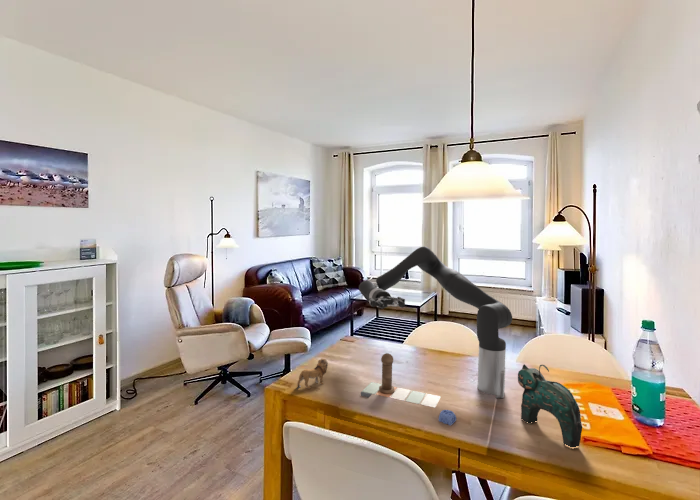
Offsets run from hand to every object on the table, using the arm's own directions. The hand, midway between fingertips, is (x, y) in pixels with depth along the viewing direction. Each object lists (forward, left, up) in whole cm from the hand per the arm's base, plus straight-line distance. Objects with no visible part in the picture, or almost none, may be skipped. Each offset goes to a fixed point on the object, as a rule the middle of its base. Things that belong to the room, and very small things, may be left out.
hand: (393, 305), depth 146 cm
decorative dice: (-27, +25, -30) cm, 47 cm away
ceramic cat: (-55, +15, -30) cm, 64 cm away
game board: (-8, +14, -30) cm, 34 cm away
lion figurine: (+26, +18, -30) cm, 44 cm away
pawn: (-3, +13, -29) cm, 32 cm away
